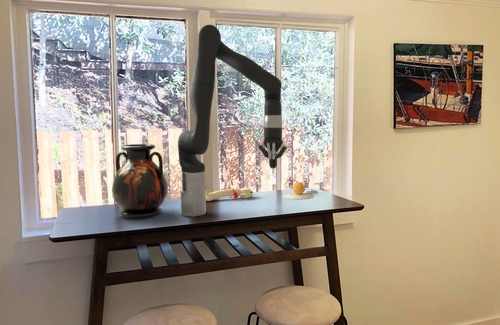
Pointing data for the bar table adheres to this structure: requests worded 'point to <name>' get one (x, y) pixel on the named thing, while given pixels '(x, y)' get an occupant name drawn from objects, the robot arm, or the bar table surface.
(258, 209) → the bar table surface
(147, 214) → the amphora vase
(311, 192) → the disc
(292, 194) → the disc
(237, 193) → the cat figure
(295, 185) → the ball
